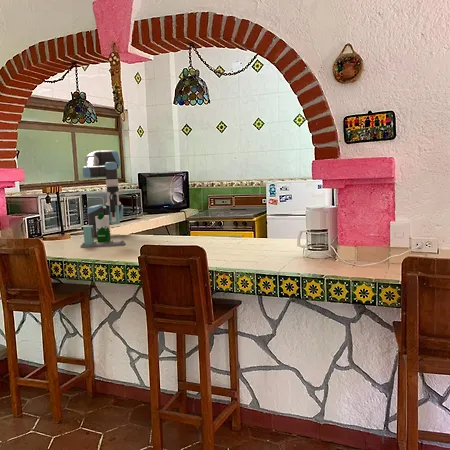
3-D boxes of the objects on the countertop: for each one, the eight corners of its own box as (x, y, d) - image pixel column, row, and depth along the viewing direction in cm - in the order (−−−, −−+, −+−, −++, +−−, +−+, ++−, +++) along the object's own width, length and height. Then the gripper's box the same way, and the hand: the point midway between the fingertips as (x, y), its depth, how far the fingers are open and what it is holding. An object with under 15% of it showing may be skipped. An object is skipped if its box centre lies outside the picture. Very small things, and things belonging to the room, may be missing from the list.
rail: (83, 245, 321) (83, 241, 321) (125, 243, 322) (125, 239, 322) (80, 247, 314) (80, 243, 314) (123, 245, 315) (123, 241, 315)
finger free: (111, 223, 319) (110, 205, 318) (119, 223, 319) (118, 205, 318) (109, 224, 314) (108, 206, 313) (118, 224, 314) (117, 205, 313)
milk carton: (95, 242, 335) (93, 213, 333) (100, 240, 344) (98, 212, 341) (108, 241, 334) (105, 213, 332) (112, 239, 343) (110, 212, 341)
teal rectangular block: (86, 243, 320) (85, 225, 319) (95, 243, 320) (93, 225, 319) (84, 244, 315) (83, 226, 314) (93, 244, 315) (91, 226, 314)
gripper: (109, 185, 323) (112, 220, 325) (103, 186, 305) (106, 223, 307) (120, 185, 323) (123, 219, 325) (115, 186, 305) (118, 222, 308)
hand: (115, 221), depth 316 cm, fingers closed on finger free, 5 cm apart
